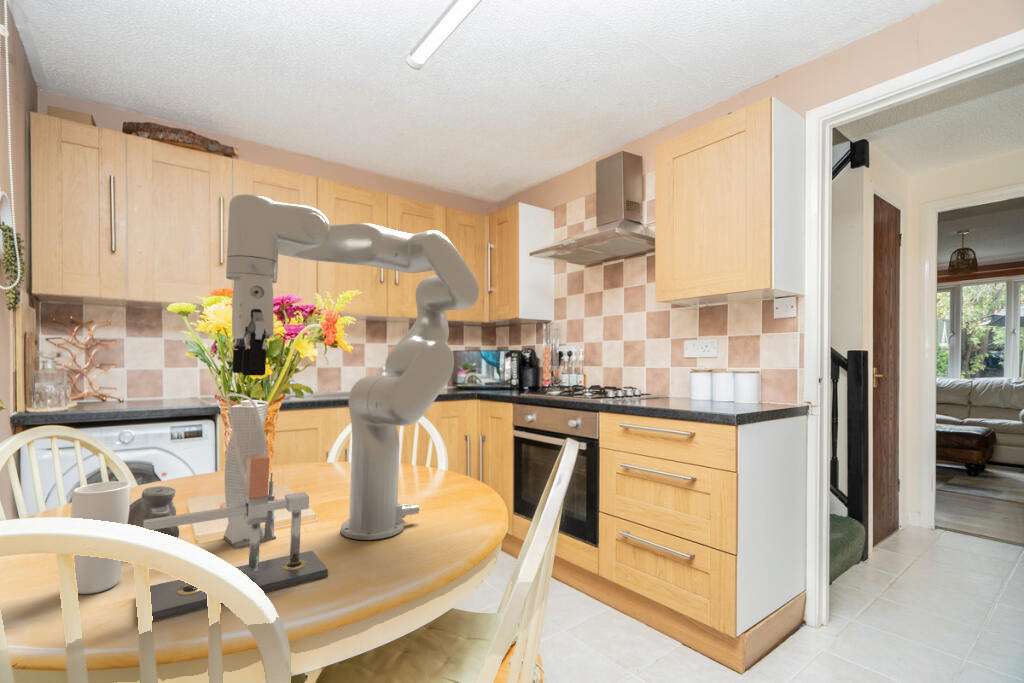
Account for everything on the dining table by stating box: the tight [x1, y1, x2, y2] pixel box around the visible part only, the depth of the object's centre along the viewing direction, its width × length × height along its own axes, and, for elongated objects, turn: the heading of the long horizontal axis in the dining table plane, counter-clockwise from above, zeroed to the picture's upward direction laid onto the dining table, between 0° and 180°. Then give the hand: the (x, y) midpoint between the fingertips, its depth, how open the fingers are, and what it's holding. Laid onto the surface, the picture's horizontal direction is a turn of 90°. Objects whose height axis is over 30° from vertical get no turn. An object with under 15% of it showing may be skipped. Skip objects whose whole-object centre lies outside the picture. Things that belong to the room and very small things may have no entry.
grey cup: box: [70, 480, 131, 595], centre depth 72 cm, size 7×7×15 cm
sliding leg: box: [244, 454, 270, 571], centre depth 75 cm, size 3×4×18 cm
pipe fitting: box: [128, 485, 180, 538], centre depth 88 cm, size 12×8×10 cm
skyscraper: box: [223, 393, 277, 549], centre depth 92 cm, size 8×8×28 cm
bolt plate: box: [149, 550, 329, 622], centre depth 73 cm, size 24×9×1 cm, turn 128°
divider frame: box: [143, 491, 310, 565], centre depth 73 cm, size 22×3×11 cm, turn 128°
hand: (248, 374), depth 79 cm, fingers open, 9 cm apart
